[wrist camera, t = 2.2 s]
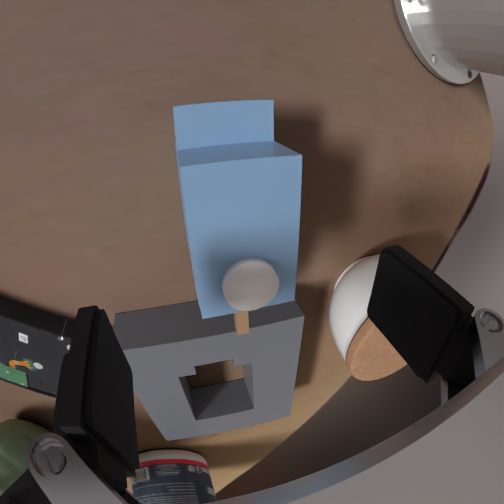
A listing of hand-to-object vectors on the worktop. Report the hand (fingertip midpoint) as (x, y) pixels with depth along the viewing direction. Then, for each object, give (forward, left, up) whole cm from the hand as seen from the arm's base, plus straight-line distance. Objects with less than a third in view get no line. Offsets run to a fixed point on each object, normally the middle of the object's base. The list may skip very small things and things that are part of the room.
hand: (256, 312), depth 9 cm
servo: (-1, 0, -11) cm, 11 cm away
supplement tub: (+12, +42, -12) cm, 45 cm away
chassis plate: (+1, +17, -11) cm, 20 cm away
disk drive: (+19, +11, -12) cm, 25 cm away
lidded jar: (-13, +10, -12) cm, 21 cm away
